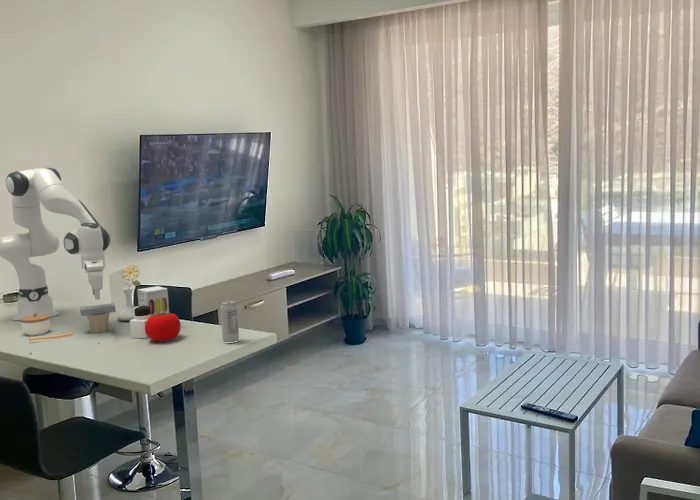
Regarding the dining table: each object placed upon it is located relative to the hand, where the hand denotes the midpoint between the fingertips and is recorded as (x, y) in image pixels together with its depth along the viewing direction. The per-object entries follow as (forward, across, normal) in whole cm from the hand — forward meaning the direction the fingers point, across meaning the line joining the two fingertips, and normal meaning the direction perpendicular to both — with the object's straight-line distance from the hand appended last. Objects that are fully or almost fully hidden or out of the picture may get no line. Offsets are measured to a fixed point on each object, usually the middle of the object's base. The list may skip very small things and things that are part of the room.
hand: (96, 297), depth 269 cm
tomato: (+15, +27, +21) cm, 37 cm away
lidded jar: (+15, -11, -23) cm, 30 cm away
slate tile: (+6, 0, 0) cm, 6 cm away
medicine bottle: (+15, +17, +15) cm, 27 cm away
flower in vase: (+15, -17, +15) cm, 28 cm away
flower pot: (+15, +1, 0) cm, 15 cm away
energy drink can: (+14, +46, +42) cm, 64 cm away
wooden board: (+15, 0, -18) cm, 23 cm away
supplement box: (+15, +7, +21) cm, 27 cm away
